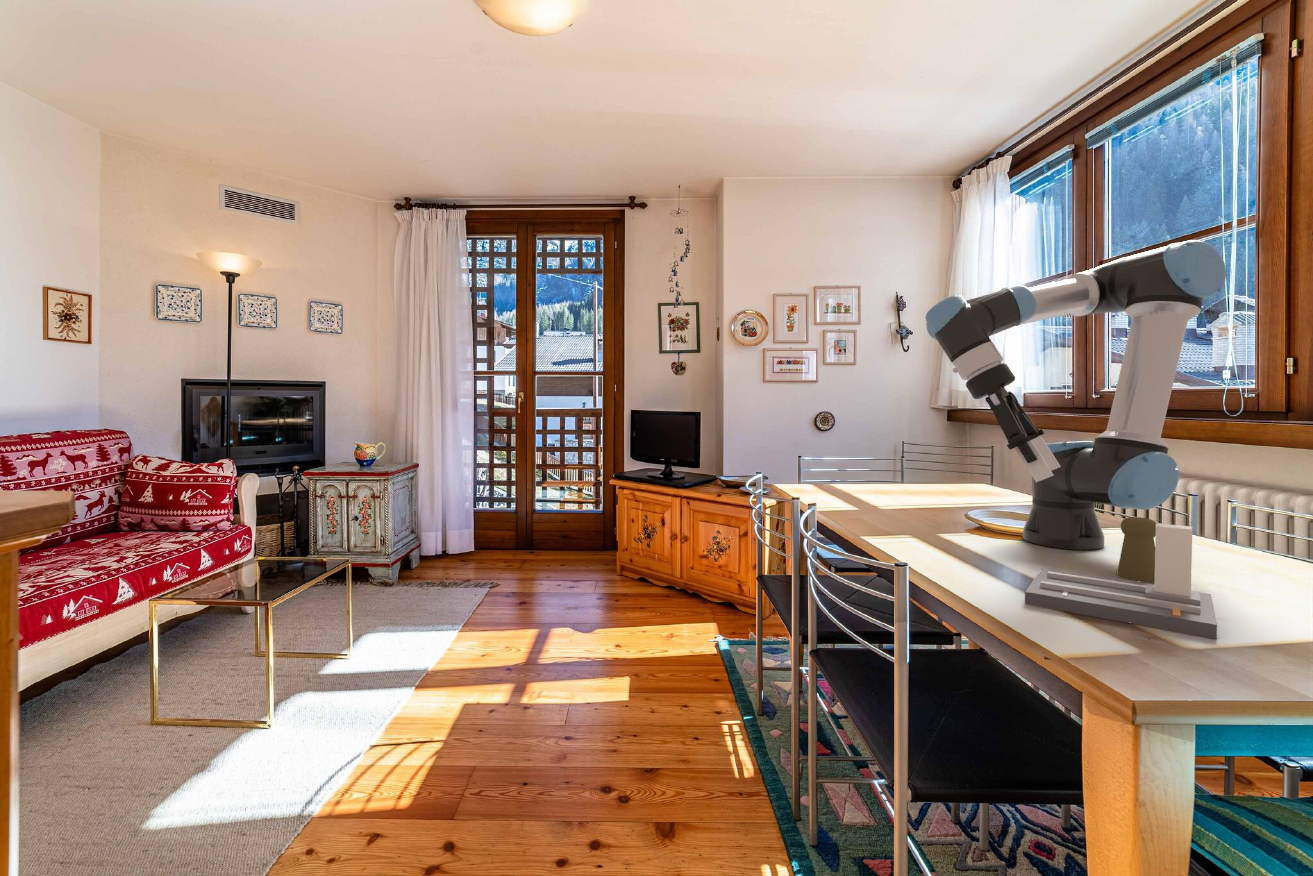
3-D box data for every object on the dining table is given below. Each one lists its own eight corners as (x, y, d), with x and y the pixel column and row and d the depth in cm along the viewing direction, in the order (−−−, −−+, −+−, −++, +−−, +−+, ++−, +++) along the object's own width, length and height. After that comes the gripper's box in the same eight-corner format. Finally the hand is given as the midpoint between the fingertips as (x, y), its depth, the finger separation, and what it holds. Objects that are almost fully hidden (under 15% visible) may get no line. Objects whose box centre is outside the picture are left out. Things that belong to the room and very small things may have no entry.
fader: (1146, 591, 88) (1147, 521, 88) (1198, 599, 84) (1201, 526, 84) (1144, 599, 85) (1146, 526, 84) (1200, 608, 81) (1202, 532, 80)
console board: (1041, 579, 102) (1041, 564, 102) (1210, 606, 88) (1211, 588, 87) (1024, 603, 91) (1024, 586, 91) (1216, 639, 76) (1217, 619, 76)
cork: (1168, 583, 99) (1170, 521, 98) (1129, 581, 100) (1130, 521, 99) (1146, 573, 105) (1147, 515, 104) (1109, 572, 106) (1110, 514, 105)
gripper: (977, 383, 116) (1035, 475, 111) (948, 382, 97) (1016, 492, 92) (1014, 363, 112) (1076, 458, 107) (992, 358, 93) (1066, 473, 87)
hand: (1049, 474), depth 99 cm, fingers open, 13 cm apart
